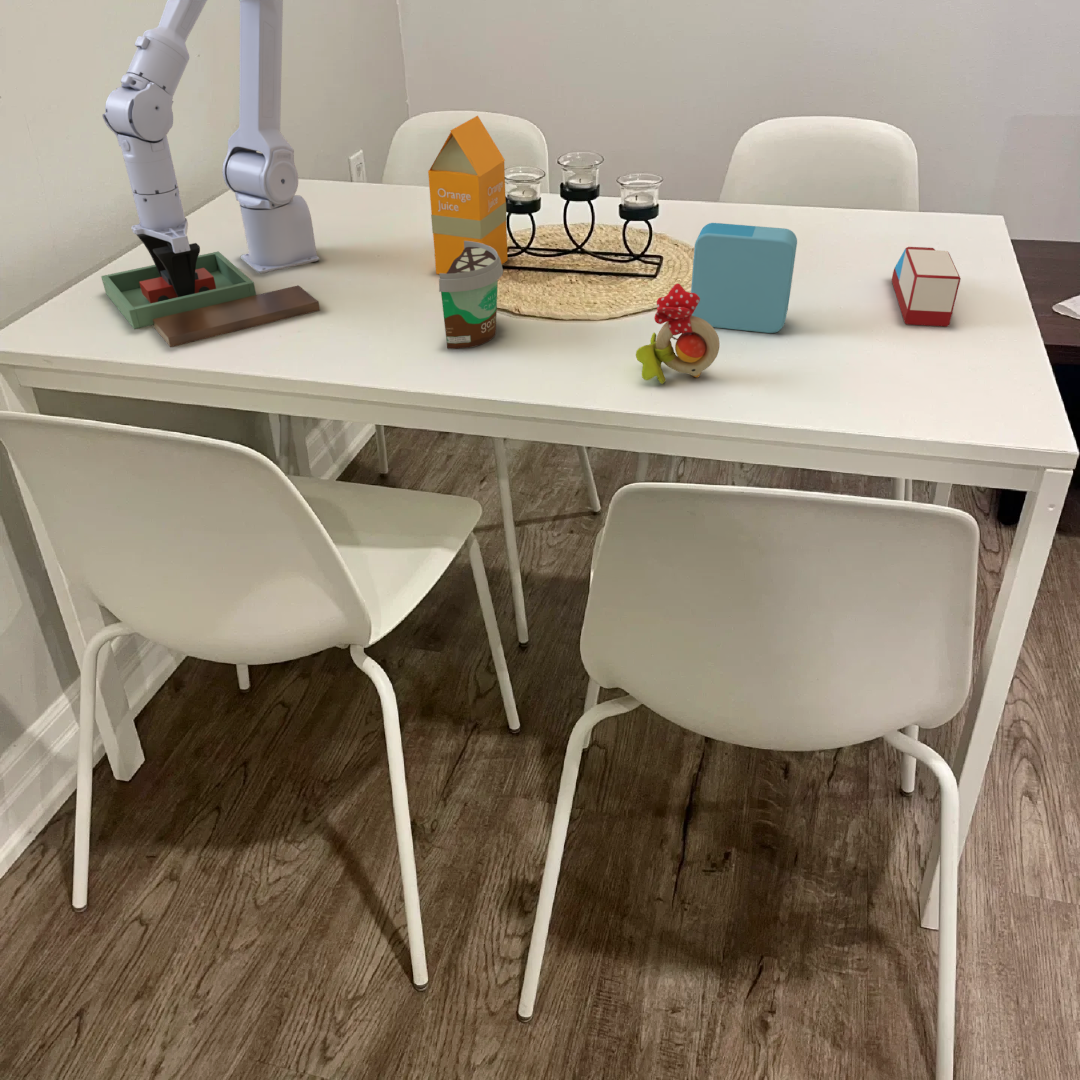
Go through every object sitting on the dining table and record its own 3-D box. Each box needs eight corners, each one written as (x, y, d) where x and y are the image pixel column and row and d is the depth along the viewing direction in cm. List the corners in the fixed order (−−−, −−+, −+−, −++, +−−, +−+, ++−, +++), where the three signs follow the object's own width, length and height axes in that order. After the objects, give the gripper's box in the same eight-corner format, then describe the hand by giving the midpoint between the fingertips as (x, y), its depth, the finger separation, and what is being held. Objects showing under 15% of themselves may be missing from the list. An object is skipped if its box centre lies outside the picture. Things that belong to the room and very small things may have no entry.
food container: (492, 357, 122) (488, 278, 116) (443, 353, 123) (437, 275, 117) (514, 316, 131) (512, 241, 125) (469, 313, 132) (465, 239, 126)
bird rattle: (693, 379, 120) (626, 349, 119) (740, 301, 114) (669, 268, 113) (693, 404, 115) (623, 373, 114) (742, 324, 109) (667, 290, 108)
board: (300, 295, 138) (298, 285, 137) (320, 312, 133) (318, 301, 133) (155, 329, 129) (152, 319, 129) (171, 349, 125) (168, 338, 124)
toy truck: (931, 283, 139) (942, 236, 135) (949, 327, 127) (961, 277, 123) (890, 281, 139) (900, 234, 135) (904, 325, 127) (915, 275, 123)
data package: (786, 321, 129) (799, 229, 122) (782, 335, 125) (795, 241, 118) (693, 311, 132) (701, 221, 125) (688, 325, 128) (695, 232, 121)
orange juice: (435, 274, 144) (423, 128, 132) (461, 253, 151) (452, 113, 139) (484, 281, 142) (477, 133, 130) (509, 259, 148) (504, 117, 136)
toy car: (207, 284, 141) (202, 260, 139) (217, 294, 138) (212, 270, 136) (143, 298, 137) (137, 274, 135) (152, 309, 134) (146, 284, 132)
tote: (222, 269, 146) (218, 251, 145) (257, 301, 137) (253, 282, 135) (106, 295, 139) (100, 275, 138) (134, 331, 129) (129, 310, 128)
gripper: (109, 180, 132) (135, 278, 140) (139, 208, 122) (165, 312, 130) (162, 171, 135) (184, 268, 143) (195, 198, 125) (217, 300, 133)
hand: (178, 288), depth 137 cm, fingers open, 6 cm apart
